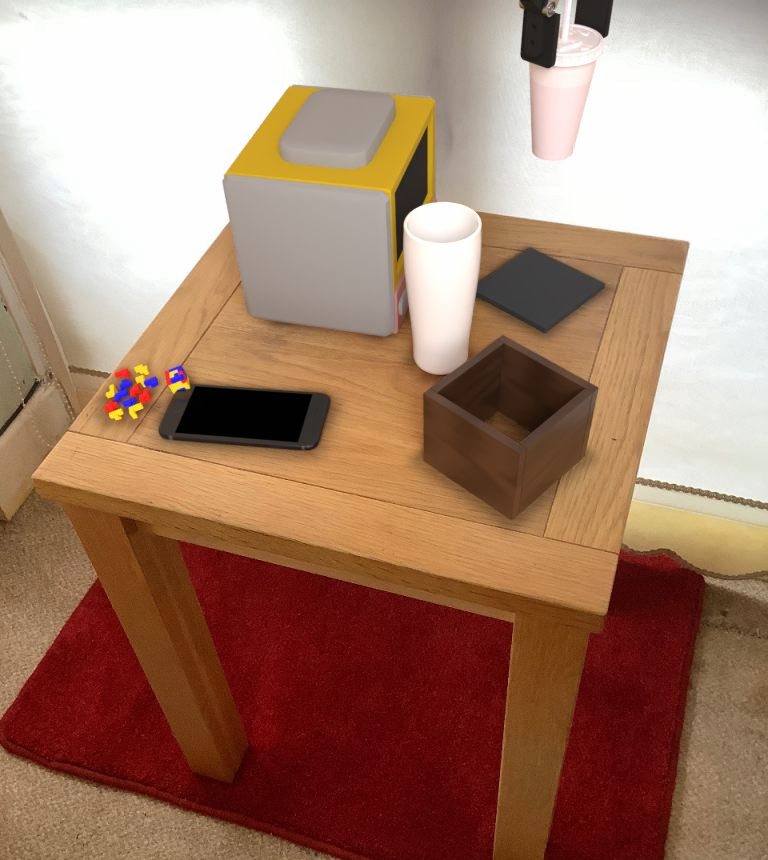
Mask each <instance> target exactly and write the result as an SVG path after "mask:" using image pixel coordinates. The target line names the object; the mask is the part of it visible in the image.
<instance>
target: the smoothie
mask: <svg viewBox="0 0 768 860" xmlns="http://www.w3.org/2000/svg"><path fill="white" fill-rule="evenodd" d="M572 4H573V0H564V5H563V13H562V14H563V15H562V23H561V22H560V26H559V35H558V45H557V54H556V62H555V65H554V66H553V67H551V68H549V69H548V68H544V67H542V66H539V65H536V64H533V63H530V62H528V72H529V73H528V74H529V101H530V102H529V103H530V104H529V105H530V132H531V134H530V135H531V136H530V137H531V152H532V154H533V156H535V157H536V158H537V159H541V160H544V161H547V162H548V161H549V162H554V161H555V162H557V161H563V160H566V159H568V158H569V157H571V156H572V155H573V152H574V149H575V145H576V141H577V137H578V134H579V131H580V130H579V129H580V126H581V122H582V118H583V115H584V111H585V106H586V103H587V100H588V96H589V92H590V88H591V84H592V80H593V76H594V72H595V69H596V64H597V61H598V59H600V58H601V56H602V55H603V47H604V39H603V37H602V35H601V34H600V33H599V32H597V31H596V30H594V29H592V28H590V27H586V26H583V25H578V24H574V23H570V21H571V13H572Z"/></svg>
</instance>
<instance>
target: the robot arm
mask: <svg viewBox="0 0 768 860" xmlns="http://www.w3.org/2000/svg"><path fill="white" fill-rule="evenodd" d="M518 1H519V2H518V7H519V8H520V9H522V10H523V12H522V13H523V14H522V25H521V27H522V28H521V39H520V52H519V55H520V59H521V61H522V60H523V61H525V62H528V63H529V62H530V63H533V64H536V65H539V66H542V67H544V68H548V69H549V68H551V67H553V66H554V65H555V62H556V54H557V45H558V35H559V26H560V24H561V13H558V12H556V11H557V8H558V4H559V2H560V0H518ZM613 6H614V0H576V5H575V13H574V20H573V21H574V22H573V24H578V25H583V26H586V27H590V28H592V29H594V30H596V31H597V32H599V33H600V34H601V35H602V37H603V40H604V39H605V38H607V37H608V36H609V32H610V26H611V19H612V14H613V13H612V12H613Z"/></svg>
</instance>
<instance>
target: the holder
mask: <svg viewBox="0 0 768 860" xmlns="http://www.w3.org/2000/svg"><path fill="white" fill-rule="evenodd" d="M598 394H599V386H597V385H595V384H593V383H591V382H590V381H588V380H586V379H585V378H582V377H581V376H579V375H577V374H575V373H573V372H571V371H570V370H568V369H566V368H564V367H563V366H560V365H559V364H557V363H555V362H553V361H551V360H550V359H548V358H546V357H544V356H542V355H541V354H538V353H537V352H535V351H533V350H532V349H530V348H528V347H525V346H524V345H522V344H520V343H519V342H517V341H515V340H513V339H512V338H510V337H508V336H506V335H504V334H502V335H500V336H498V337H497V338H496V339H495V340H493V341H491V342H490V343H489V344H488V345H486V346H485V347H484V348H482V349H481V350H480V351H478V352H477V353H475V354H474V355H472V357H470V358H469V359H467V361H466V362H465V363H464V364H462V365H461V366H459V367H458V368H457V369H455V370H454V371H453V372H451V373H450V374H446V376H444V377H443V378H442V379H440V380H439V381H438V382H436V383H434V385H432V386H430V388H428V389H427V390H426V391H424V392H423V393H422V407H423V408H422V411H423V412H422V413H423V414H422V417H423V419H422V420H423V423H422V424H423V430H422V431H423V432H422V433H423V434H422V435H423V462H425V463H426V464H428V466H431V467H432V468H433V469H435V470H437V471H438V472H439V473H441V474H442V475H444V477H446V478H448V479H450V480H451V481H452V482H454V483H456V484H457V485H459V486H460V487H462V489H465V490H466V491H467V492H469V493H470V494H472V495H474V496H475V497H477V498H478V499H479V500H480V501H482V502H484V503H485V504H487V505H488V506H490V507H491V508H492V509H494V510H496V511H497V512H498V513H500V514H501V515H503V516H504V517H506V518H507V519H509V520H510V521H514V520H515V519H516V518H517V517H518V516H519V515H520V514H521V513H522V512H524V510H526V509H527V508H528V507H529V506H530V505H531V504H532V503H533V502H535V501H536V500H537V499H538V498H539V497H540V496H541V495H542V494H544V493H545V492H546V491H547V490H548V489H549V488H551V487H552V486H553V485H554V484H555V483H556V482H557V481H558V480H559V479H561V478H562V477H563V476H564V475H565V474H566V473H567V472H569V470H571V469H572V468H573V467H574V466H575V465H577V463H579V462H580V461H581V460H582V459H584V457H586V453H587V449H588V443H589V439H590V438H589V437H590V434H591V428H592V424H593V417H594V413H595V408H596V403H597V398H598ZM498 412H499V413H500V414H502V415H504V416H505V417H507V418H508V419H511V421H514V422H515V423H517V424H519V425H520V426H522V427H524V428H525V429H526V430H529V432H530V433H529V434H528V435H526V436H525V437H524V438H523V439H522V440H521V441H520V442H517V441H515V440H513V439H512V438H510V437H509V436H507V435H506V434H504V433H503V432H501V431H499V430H498V429H496V428H494V427H493V426H491V425H489V424H488V423H486V421H488V420H489V419H490V418H491V417H493V416H494V415H495V414H497V413H498Z"/></svg>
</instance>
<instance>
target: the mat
mask: <svg viewBox="0 0 768 860" xmlns="http://www.w3.org/2000/svg"><path fill="white" fill-rule="evenodd" d="M605 286H606V283H605V282H603V281H602V280H600V279H597V278H595V277H593V276H591V275H589V274H586V273H585V272H583V271H581V270H578V269H576V268H574V267H572V266H570V265H568V264H566V263H563V262H561V261H560V260H557V259H555V258H553V257H551V256H549V255H548V254H545V253H543V252H541V251H538V250H537V249H535V248H532V247H528V248H527V249H525V250H524V251H522V252H521V253H519V254H517V256H515V257H513V258H512V259H511V260H509V261H508V262H506V263H505V264H503V265H502V266H500V267H499V268H497V269H496V270H494V271H493V272H492V273H490V274H488V275H487V276H486V277H484V278H483V279H481V280H480V281H478V285H477V292H476V297H477V298H478V299H481V300H483V301H485V302H486V303H488V304H490V305H491V306H494V307H496V308H498V309H499V310H501V311H503V312H505V313H507V314H508V315H511V316H513V317H515V318H516V319H518V320H521V321H522V322H524V323H526V324H528V325H530V326H532V327H533V328H535V329H536V330H539V331H541V332H543V333H547V332H548V331H550V330H552V328H554V327H555V326H556V325H558V324H559V323H560V322H562V321H563V320H564V319H566V318H567V317H568V316H569V315H571V314H572V313H574V312H575V311H576V310H577V309H579V308H580V307H582V306H583V305H584V304H585V303H587V302H588V301H589V300H590V299H592V298H593V297H595V296H596V295H597V294H599V293H600V292H602V290H604V289H605Z"/></svg>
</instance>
